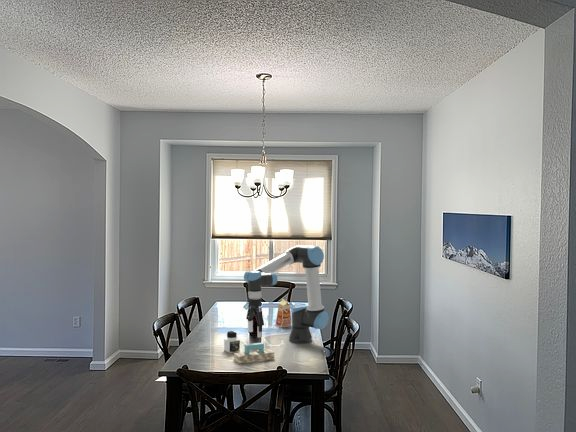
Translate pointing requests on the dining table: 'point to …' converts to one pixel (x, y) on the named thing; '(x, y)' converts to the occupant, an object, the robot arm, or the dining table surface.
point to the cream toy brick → (253, 356)
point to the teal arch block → (254, 347)
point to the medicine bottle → (231, 342)
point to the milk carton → (283, 314)
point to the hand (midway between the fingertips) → (255, 334)
